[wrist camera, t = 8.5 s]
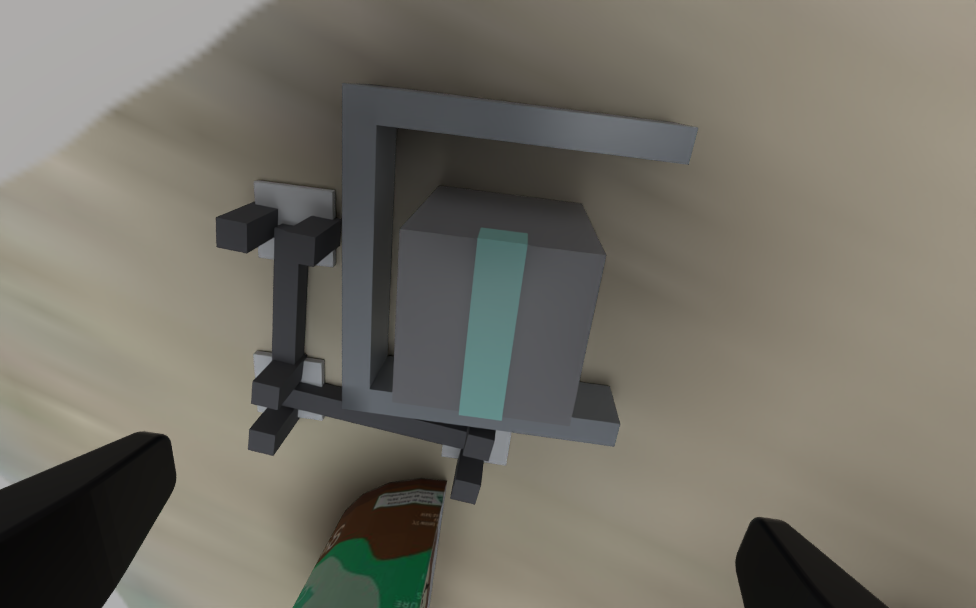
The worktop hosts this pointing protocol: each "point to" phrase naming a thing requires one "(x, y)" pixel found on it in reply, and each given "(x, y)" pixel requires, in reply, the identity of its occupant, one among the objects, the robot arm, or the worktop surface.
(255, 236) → the clip
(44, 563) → the robot arm
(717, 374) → the worktop surface
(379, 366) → the holder
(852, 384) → the worktop surface
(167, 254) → the worktop surface
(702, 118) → the worktop surface
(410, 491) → the food container
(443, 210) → the block
